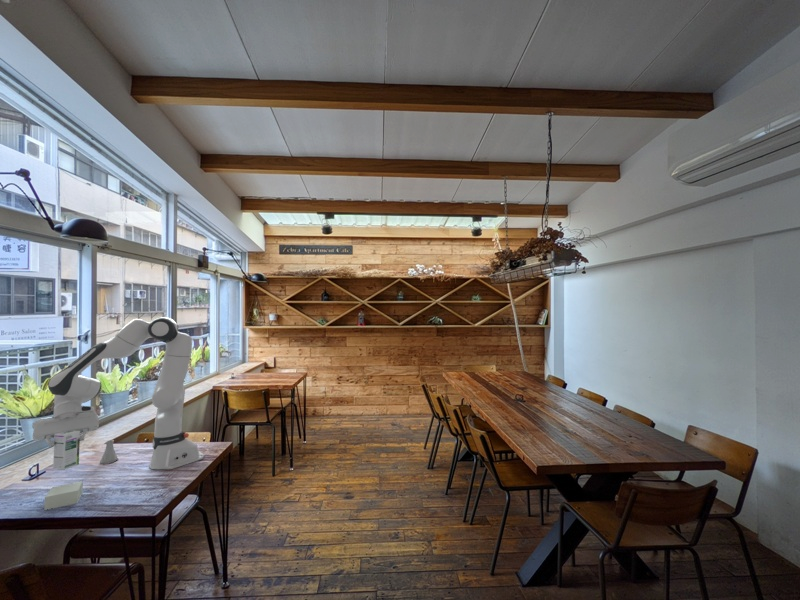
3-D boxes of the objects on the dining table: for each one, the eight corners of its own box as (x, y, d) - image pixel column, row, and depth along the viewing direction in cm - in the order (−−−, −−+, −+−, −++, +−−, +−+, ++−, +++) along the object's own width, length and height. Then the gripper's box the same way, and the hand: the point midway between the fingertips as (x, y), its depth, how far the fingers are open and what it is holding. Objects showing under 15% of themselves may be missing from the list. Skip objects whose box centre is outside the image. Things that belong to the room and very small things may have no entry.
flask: (97, 465, 165) (98, 444, 166) (101, 460, 172) (102, 439, 172) (116, 462, 169) (117, 442, 169) (120, 457, 175) (120, 437, 176)
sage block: (82, 493, 139) (83, 481, 139) (77, 503, 131) (77, 490, 132) (51, 500, 134) (52, 487, 134) (44, 511, 126) (44, 497, 127)
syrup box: (63, 470, 139) (65, 434, 140) (52, 469, 140) (54, 433, 141) (79, 464, 145) (80, 429, 145) (68, 463, 146) (70, 429, 147)
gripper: (32, 415, 141) (30, 445, 134) (98, 406, 156) (99, 432, 148) (33, 424, 144) (30, 454, 137) (97, 414, 158) (98, 440, 151)
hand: (67, 443), depth 143 cm, fingers closed on syrup box, 8 cm apart
